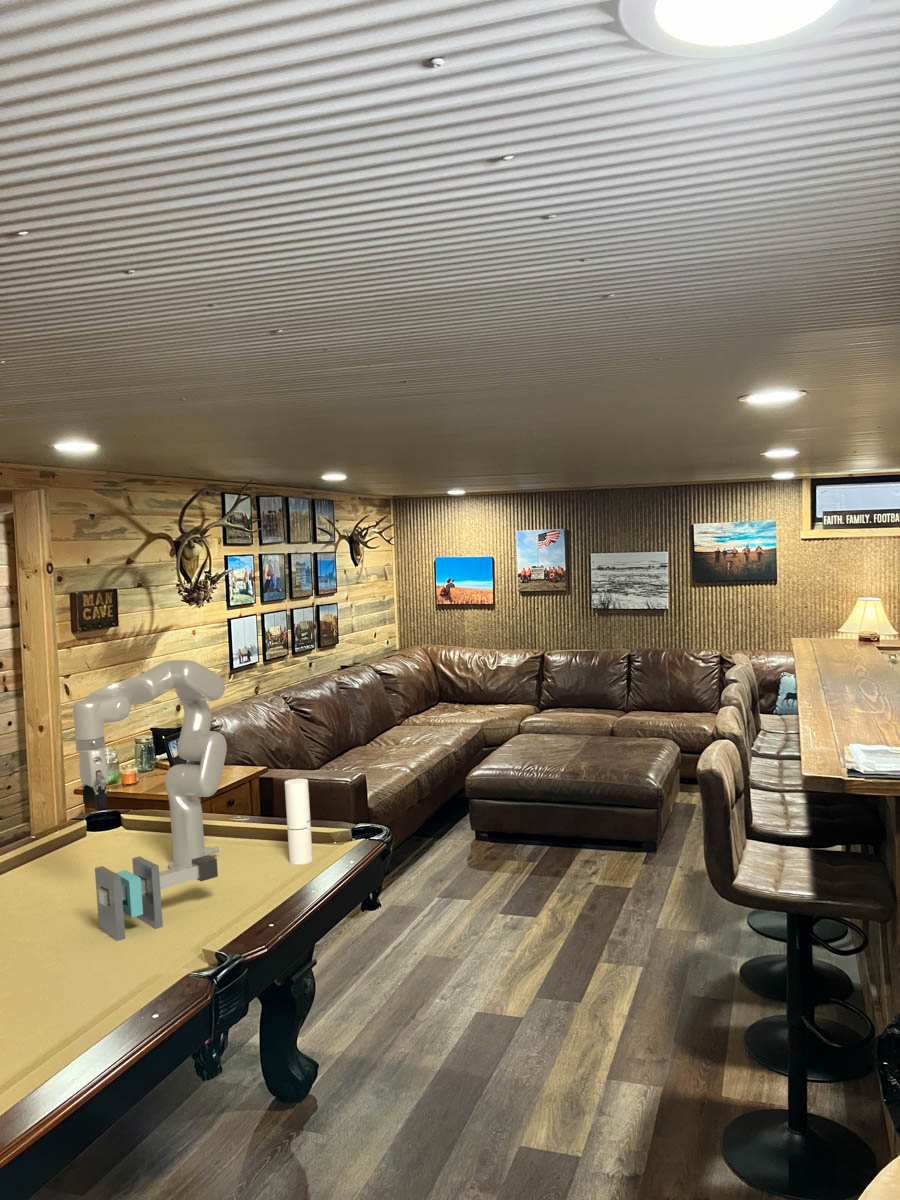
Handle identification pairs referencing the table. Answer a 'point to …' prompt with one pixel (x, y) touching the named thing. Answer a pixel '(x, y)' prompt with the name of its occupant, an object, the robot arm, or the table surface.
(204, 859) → the shaft
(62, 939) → the table surface
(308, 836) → the cylindrical container
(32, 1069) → the table surface
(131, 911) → the spacer
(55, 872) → the table surface
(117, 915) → the pair of grey plates
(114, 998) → the table surface
